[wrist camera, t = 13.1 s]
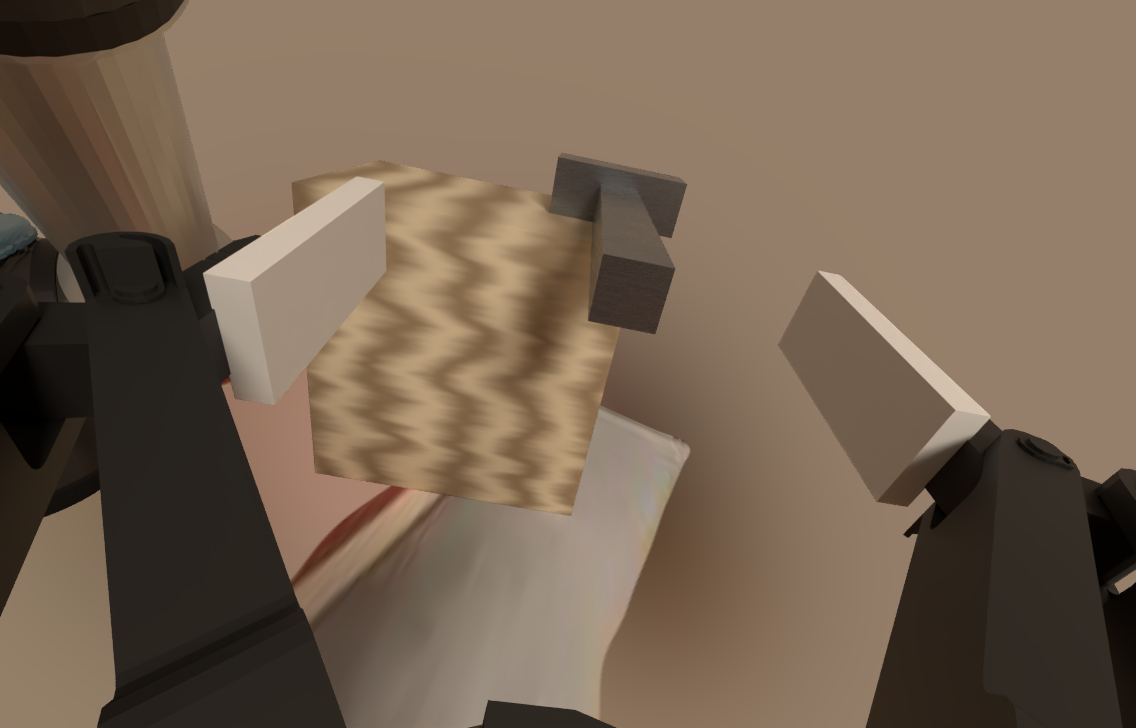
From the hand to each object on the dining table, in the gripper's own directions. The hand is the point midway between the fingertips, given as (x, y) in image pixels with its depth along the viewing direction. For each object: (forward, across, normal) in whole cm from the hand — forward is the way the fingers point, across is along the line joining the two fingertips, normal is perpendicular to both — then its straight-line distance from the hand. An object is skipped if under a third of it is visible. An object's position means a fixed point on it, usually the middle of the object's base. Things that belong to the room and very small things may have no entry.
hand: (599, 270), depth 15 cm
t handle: (+21, +4, -7) cm, 23 cm away
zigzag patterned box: (+30, -8, -39) cm, 49 cm away
